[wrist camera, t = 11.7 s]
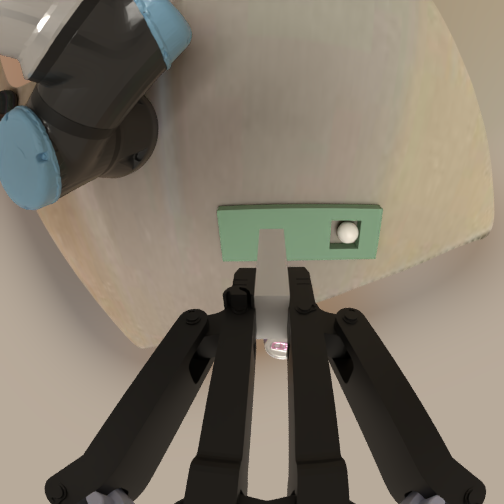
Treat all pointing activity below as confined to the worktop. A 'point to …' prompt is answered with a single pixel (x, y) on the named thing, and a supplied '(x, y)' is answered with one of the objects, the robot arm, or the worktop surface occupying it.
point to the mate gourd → (7, 102)
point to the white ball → (347, 232)
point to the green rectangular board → (298, 230)
